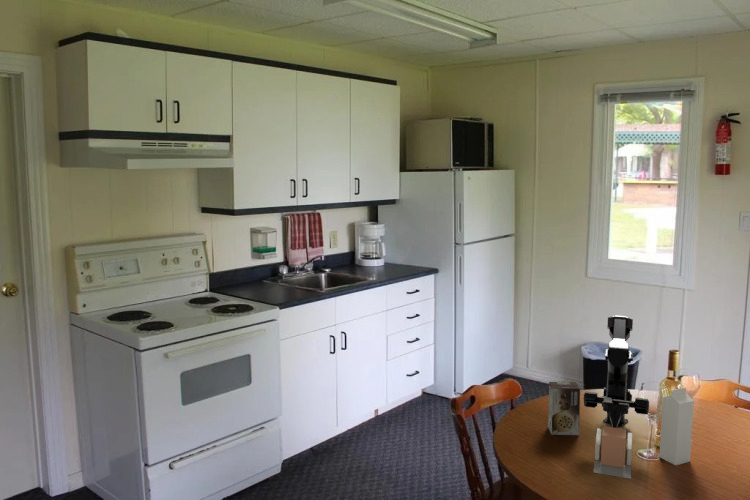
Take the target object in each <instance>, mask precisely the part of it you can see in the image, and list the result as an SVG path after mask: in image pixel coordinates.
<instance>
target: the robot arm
mask: <svg viewBox="0 0 750 500" xmlns="http://www.w3.org/2000/svg"><path fill="white" fill-rule="evenodd" d="M633 323H634V319H633V318H630V317H628V316H626V315H617V314H616V315H612V316H610V317H607V326H606V327H607V330H609V334H608V335H609V337H610V338H611V341H609V342H608V346H607V347H608V348H605V358H604V359H605V361H607V379H606V383H605V387H603V395H602V396H598V395H599V394H598V392H594V391H593V392H592V391H585V392H584V393H583V406H584V407H586V408H593V409H595V408H596V407H598V405H599V404H601V407H602V411H604V412H606V417H605V418H604V419H602V422H603V423H606V424H610V425H611V427H614V428H618V427H623V426H624V425H626V423H628V422H629V419H627V418H625V417H626V415H628V414H629V409H630V408H632V409H634V412H635V413H636V414H640V415H649V412H650V401H649V399H648V398H643V397H635V398H634V400H633V394H632V393H631V390H629V383H628V368H629V367H628V365H629V364H631V363H632V362H634V354H633V353H632V351H631V350H630V344H629V343H628V342H627V341H628V340H629V338H630V337H631V332H633V325H634V324H633Z"/></svg>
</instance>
